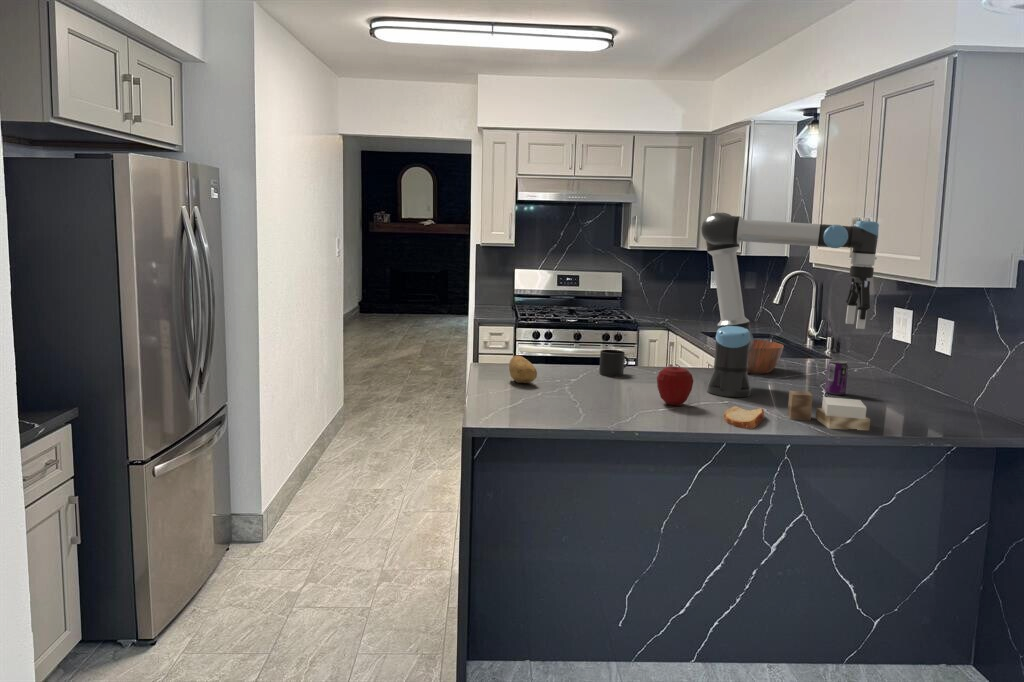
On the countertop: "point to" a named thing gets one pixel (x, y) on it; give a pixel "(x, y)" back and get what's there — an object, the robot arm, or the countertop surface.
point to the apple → (674, 385)
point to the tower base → (842, 421)
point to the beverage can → (836, 377)
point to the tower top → (844, 408)
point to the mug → (612, 362)
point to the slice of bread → (743, 417)
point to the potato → (522, 370)
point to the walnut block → (799, 405)
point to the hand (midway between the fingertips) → (854, 326)
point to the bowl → (764, 356)
